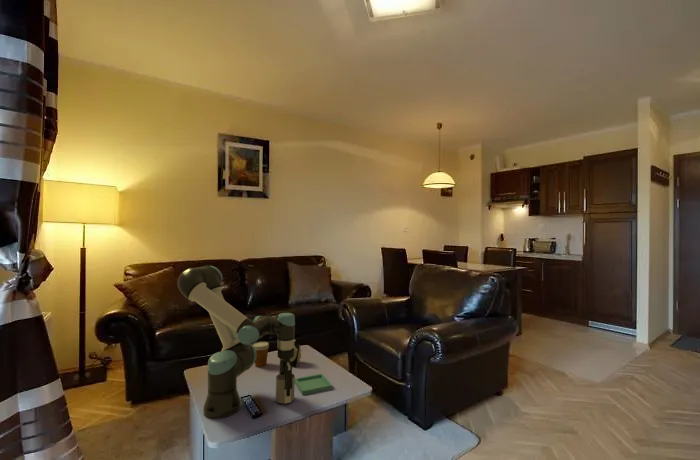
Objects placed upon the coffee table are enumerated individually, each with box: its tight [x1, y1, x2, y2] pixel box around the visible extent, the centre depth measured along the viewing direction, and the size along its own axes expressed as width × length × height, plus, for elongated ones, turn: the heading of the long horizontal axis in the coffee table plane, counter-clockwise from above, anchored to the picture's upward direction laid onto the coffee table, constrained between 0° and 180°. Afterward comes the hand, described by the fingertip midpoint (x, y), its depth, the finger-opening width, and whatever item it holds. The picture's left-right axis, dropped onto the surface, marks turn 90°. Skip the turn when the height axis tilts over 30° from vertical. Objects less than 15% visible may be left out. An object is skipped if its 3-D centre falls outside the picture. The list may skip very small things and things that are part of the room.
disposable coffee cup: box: [252, 341, 270, 368], centre depth 194 cm, size 10×10×12 cm
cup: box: [275, 373, 296, 404], centre depth 153 cm, size 8×8×10 cm
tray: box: [295, 373, 333, 396], centre depth 168 cm, size 15×15×2 cm
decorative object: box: [290, 342, 302, 368], centre depth 196 cm, size 13×10×10 cm
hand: (285, 397), depth 153 cm, fingers closed on cup, 8 cm apart
